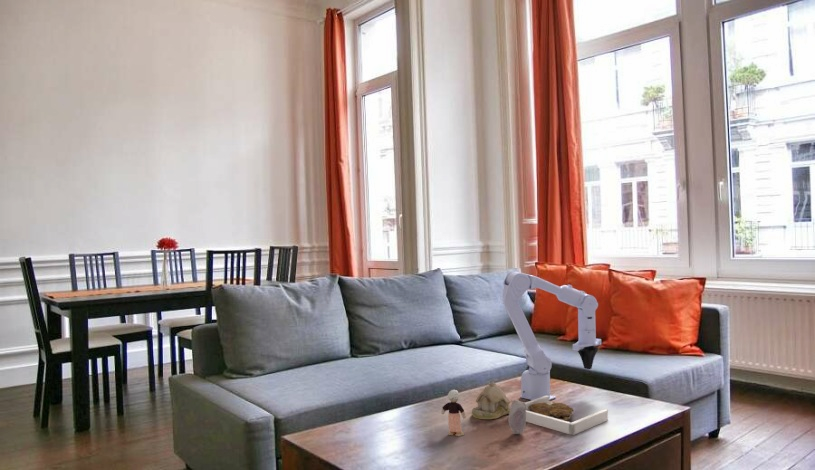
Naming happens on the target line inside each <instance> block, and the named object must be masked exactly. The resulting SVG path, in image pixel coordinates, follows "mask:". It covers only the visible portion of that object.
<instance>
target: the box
mask: <svg viewBox="0 0 815 470" xmlns="http://www.w3.org/2000/svg"><path fill="white" fill-rule="evenodd" d="M544 402H550V400H549V396H543V397H540V398H537V399H534V400H529V401H526V402H525V401H524V403H525V404H526V423H530V424H534V425H536V426H541V427H543V428H546V429H551V430H554V431H557V432H560V433H564V434H567V435H570V436H574V435H576V434H579V433H581V432H584V431H586V430H588V429H590V428H593V427H595V426H598V425H600V424H603V423H605V422H607V421H608V420H609V416H608V415H609V410H608V409H602V410H599V411H596V412H595V413H592V414H589V415H587V416H584V417H582V418H579V419H577V420H574V421H572V422H570V421H564V420H560V419H556V418H553V417H549V416H545V415H542V414H538V413H534V412H532V411H530V407H529V406H530V405H532V404H537V403H544ZM509 408H510V409H511V406H509Z"/></svg>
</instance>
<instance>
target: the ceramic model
mask: <svg viewBox="0 0 815 470" xmlns="http://www.w3.org/2000/svg"><path fill="white" fill-rule="evenodd" d="M475 402H476V404H477V406H474V407H473V408H472V409H471V415H472V417H473V418H474V419H479V420H493V419H498V418H500V417H502V416H506V415H509V412H510V406H509V405H510V403H511V401H510V400H509V399H508V398H507V396H506V393H505V392H504V391H503V390H502V389H501V388H500V387H499V386H498V385H497V383H496V382H493V381H489V382H488V385H487V386H485V387H484V388H483V390H482V391H480V393H479V394H478V395H477V396H476V399H475Z"/></svg>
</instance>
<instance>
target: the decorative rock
mask: <svg viewBox="0 0 815 470" xmlns="http://www.w3.org/2000/svg"><path fill="white" fill-rule="evenodd" d="M529 407H530V411H532V412H534V413H538V414H542V415H545V416H549V417H553V418H556V419H560V420H564V421H567V422H570V421H569V420H571V415H572V414H573V412H574V408H573V407H571V406H569V405H567V404H565V403H563V402H554V401H549V402H544V403H537V404H532V405H530V406H529Z"/></svg>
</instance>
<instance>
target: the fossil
mask: <svg viewBox="0 0 815 470" xmlns="http://www.w3.org/2000/svg"><path fill="white" fill-rule="evenodd" d="M510 407H511V409H510V412H509V414H508V418H507V420H508V424H509V427H510V430H511V431H512V433H513V434H515V435H521V434H522V433H523V432H524V431H525V429H526V427H527V426H526V425H527V422H526V404H525V401H524V402H523V401H520V400H517V399H513V400H512V402H511V406H510Z"/></svg>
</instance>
